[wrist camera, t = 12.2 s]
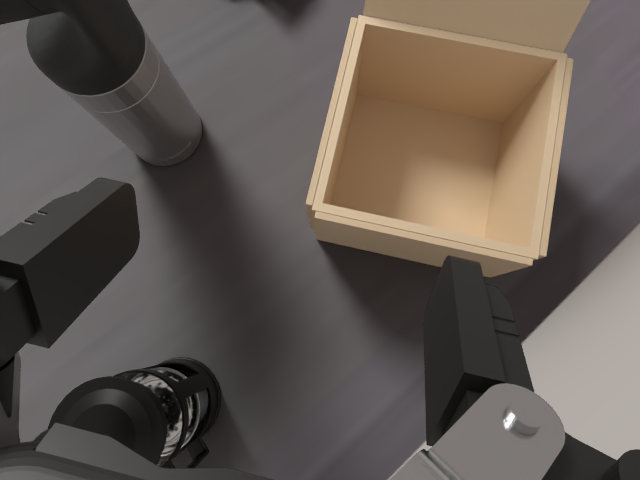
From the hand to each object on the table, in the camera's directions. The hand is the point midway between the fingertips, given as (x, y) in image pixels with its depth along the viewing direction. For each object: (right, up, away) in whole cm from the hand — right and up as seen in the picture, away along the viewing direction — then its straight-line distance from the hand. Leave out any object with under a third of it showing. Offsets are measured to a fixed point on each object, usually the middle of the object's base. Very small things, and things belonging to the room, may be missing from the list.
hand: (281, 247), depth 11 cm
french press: (-15, -18, +38) cm, 45 cm away
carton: (+13, +8, +43) cm, 45 cm away
